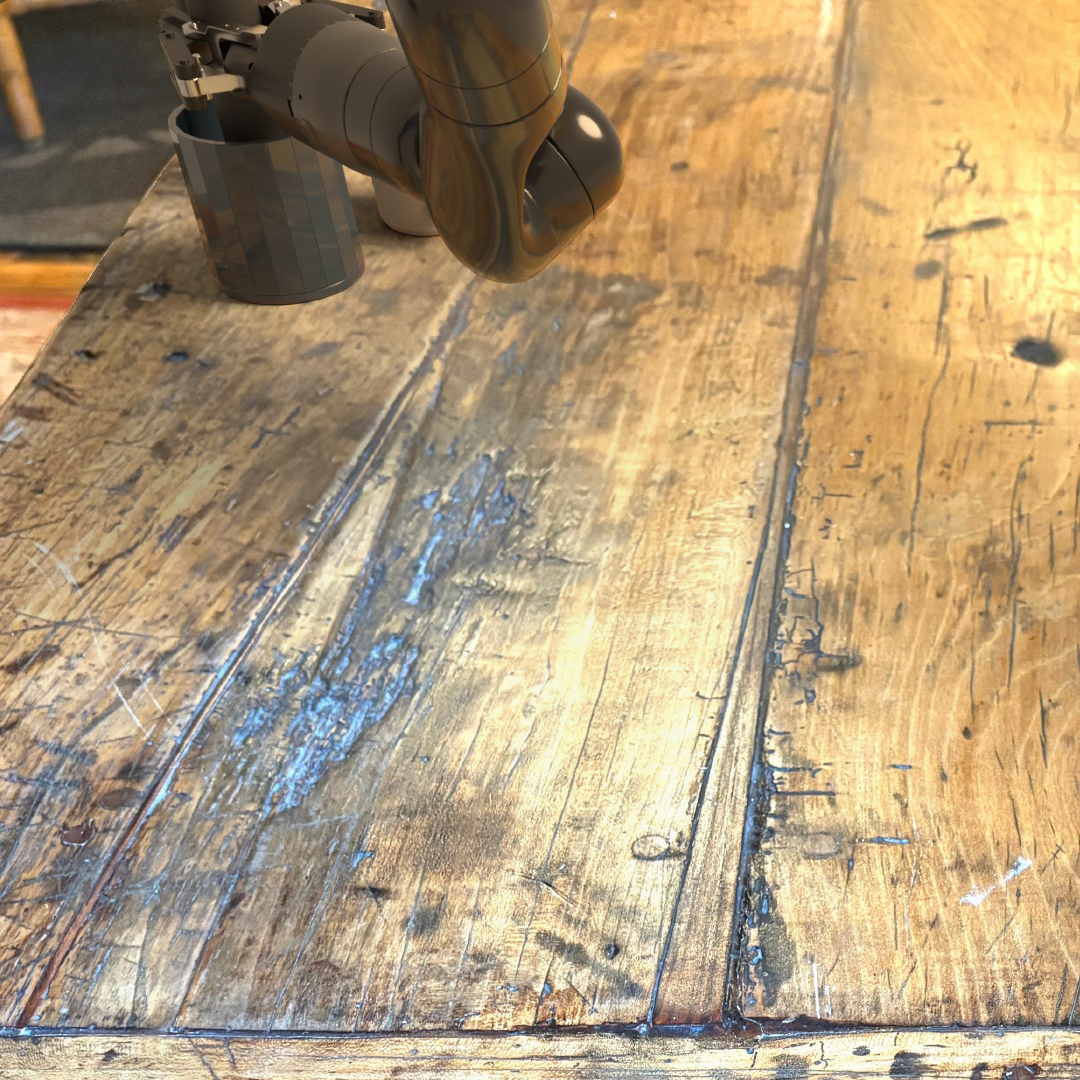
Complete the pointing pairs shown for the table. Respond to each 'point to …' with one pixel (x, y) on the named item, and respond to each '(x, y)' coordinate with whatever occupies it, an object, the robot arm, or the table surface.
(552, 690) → the table surface
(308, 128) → the robot arm
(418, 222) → the cup
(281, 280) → the pencil cup
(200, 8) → the glue stick
